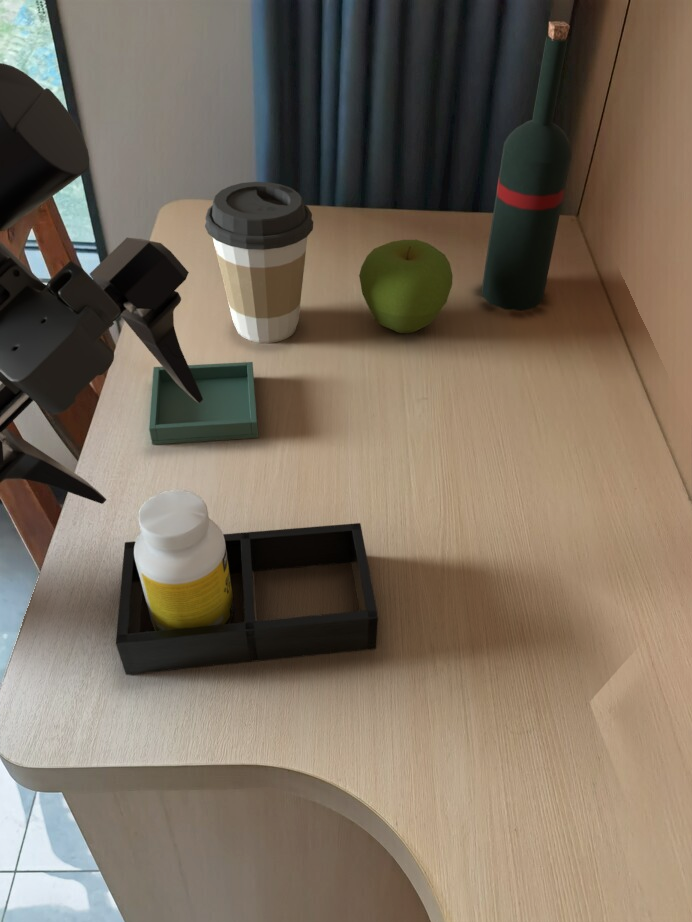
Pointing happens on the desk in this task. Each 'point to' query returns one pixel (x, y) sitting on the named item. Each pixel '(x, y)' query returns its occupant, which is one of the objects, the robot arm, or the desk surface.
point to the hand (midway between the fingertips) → (151, 449)
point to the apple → (405, 284)
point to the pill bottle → (182, 563)
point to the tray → (204, 405)
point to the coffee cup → (261, 256)
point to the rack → (253, 635)
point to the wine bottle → (529, 193)
